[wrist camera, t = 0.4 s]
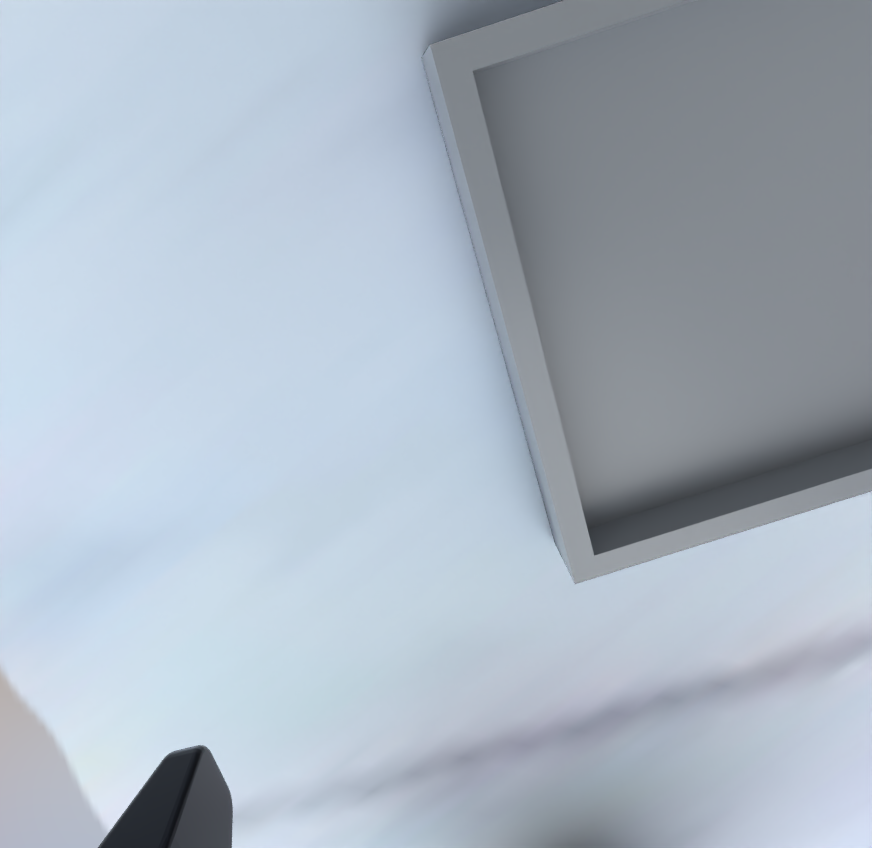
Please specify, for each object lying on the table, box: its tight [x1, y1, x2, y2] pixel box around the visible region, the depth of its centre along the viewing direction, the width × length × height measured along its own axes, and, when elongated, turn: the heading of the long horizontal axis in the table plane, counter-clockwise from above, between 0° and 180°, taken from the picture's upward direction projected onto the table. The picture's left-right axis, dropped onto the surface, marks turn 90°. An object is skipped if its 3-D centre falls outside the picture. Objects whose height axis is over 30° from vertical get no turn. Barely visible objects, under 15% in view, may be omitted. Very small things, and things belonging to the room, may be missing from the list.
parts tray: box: [421, 0, 872, 584], centre depth 20 cm, size 16×16×2 cm
